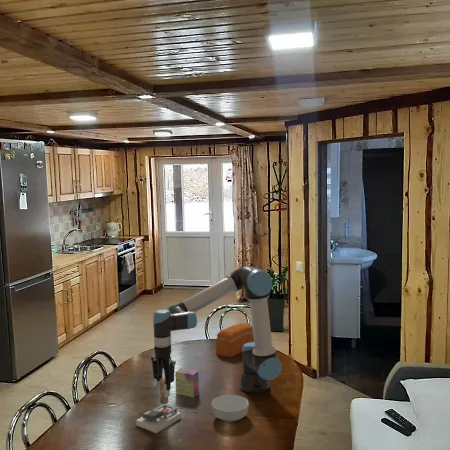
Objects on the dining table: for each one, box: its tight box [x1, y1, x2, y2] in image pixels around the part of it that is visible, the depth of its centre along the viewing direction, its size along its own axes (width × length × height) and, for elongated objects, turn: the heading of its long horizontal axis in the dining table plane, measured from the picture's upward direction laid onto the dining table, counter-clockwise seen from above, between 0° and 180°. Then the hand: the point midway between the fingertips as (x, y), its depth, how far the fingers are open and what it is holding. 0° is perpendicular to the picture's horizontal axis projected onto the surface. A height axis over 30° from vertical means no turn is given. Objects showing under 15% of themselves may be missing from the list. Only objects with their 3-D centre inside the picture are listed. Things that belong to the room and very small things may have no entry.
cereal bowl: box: [211, 394, 250, 422], centre depth 217 cm, size 17×17×7 cm
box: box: [174, 367, 200, 398], centre depth 242 cm, size 10×6×12 cm, turn 65°
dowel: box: [159, 376, 169, 405], centre depth 217 cm, size 4×4×11 cm
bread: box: [215, 322, 254, 358], centre depth 303 cm, size 14×26×16 cm, turn 139°
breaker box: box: [136, 403, 182, 434], centre depth 215 cm, size 12×16×4 cm
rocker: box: [141, 410, 163, 420], centre depth 212 cm, size 8×4×2 cm, turn 54°
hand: (164, 395), depth 217 cm, fingers closed on dowel, 3 cm apart
